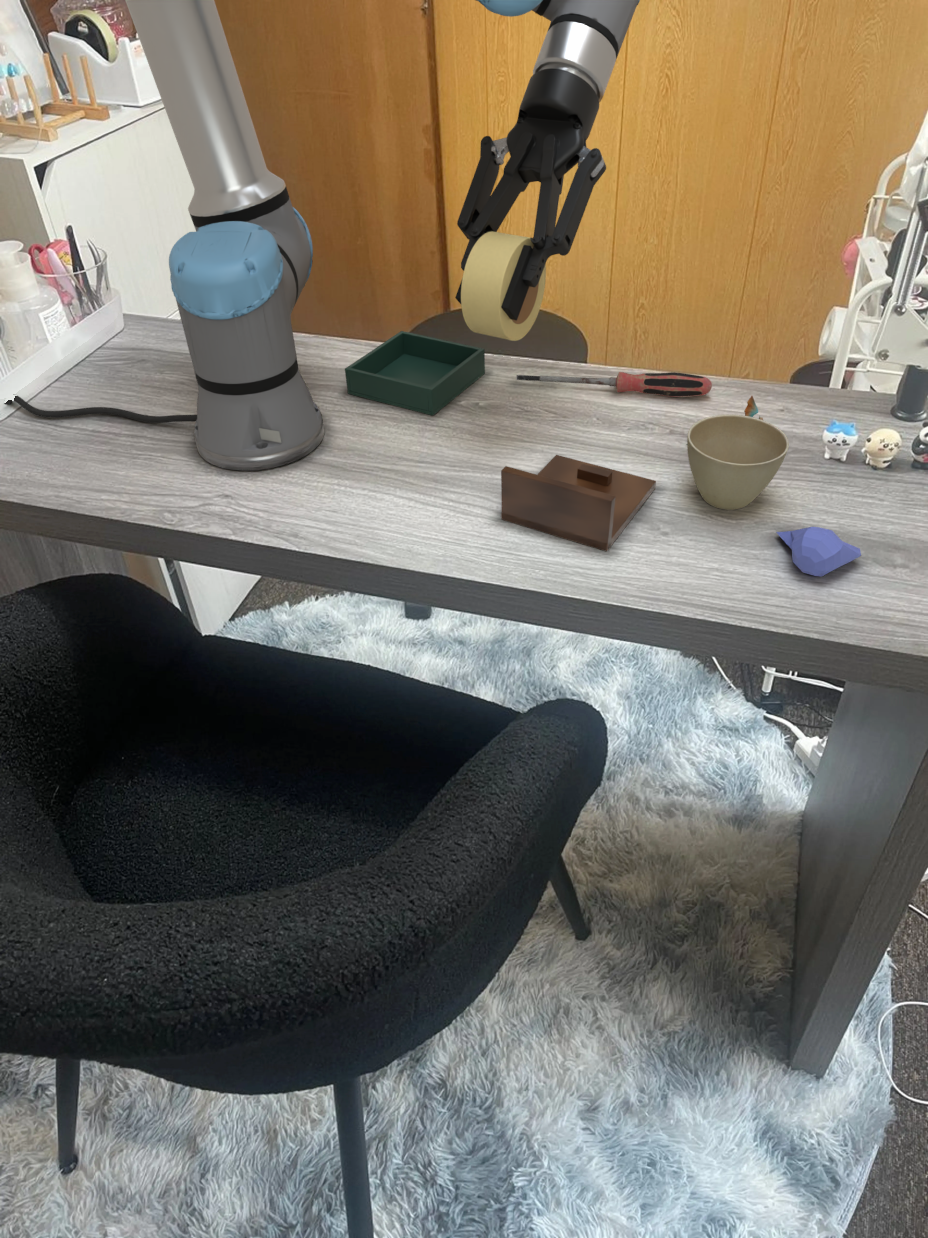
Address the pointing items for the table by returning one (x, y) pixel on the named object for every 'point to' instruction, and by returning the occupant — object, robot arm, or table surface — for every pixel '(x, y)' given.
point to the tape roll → (497, 287)
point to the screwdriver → (642, 383)
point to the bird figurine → (818, 550)
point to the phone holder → (574, 500)
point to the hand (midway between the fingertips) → (486, 308)
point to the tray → (415, 372)
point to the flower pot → (734, 458)
